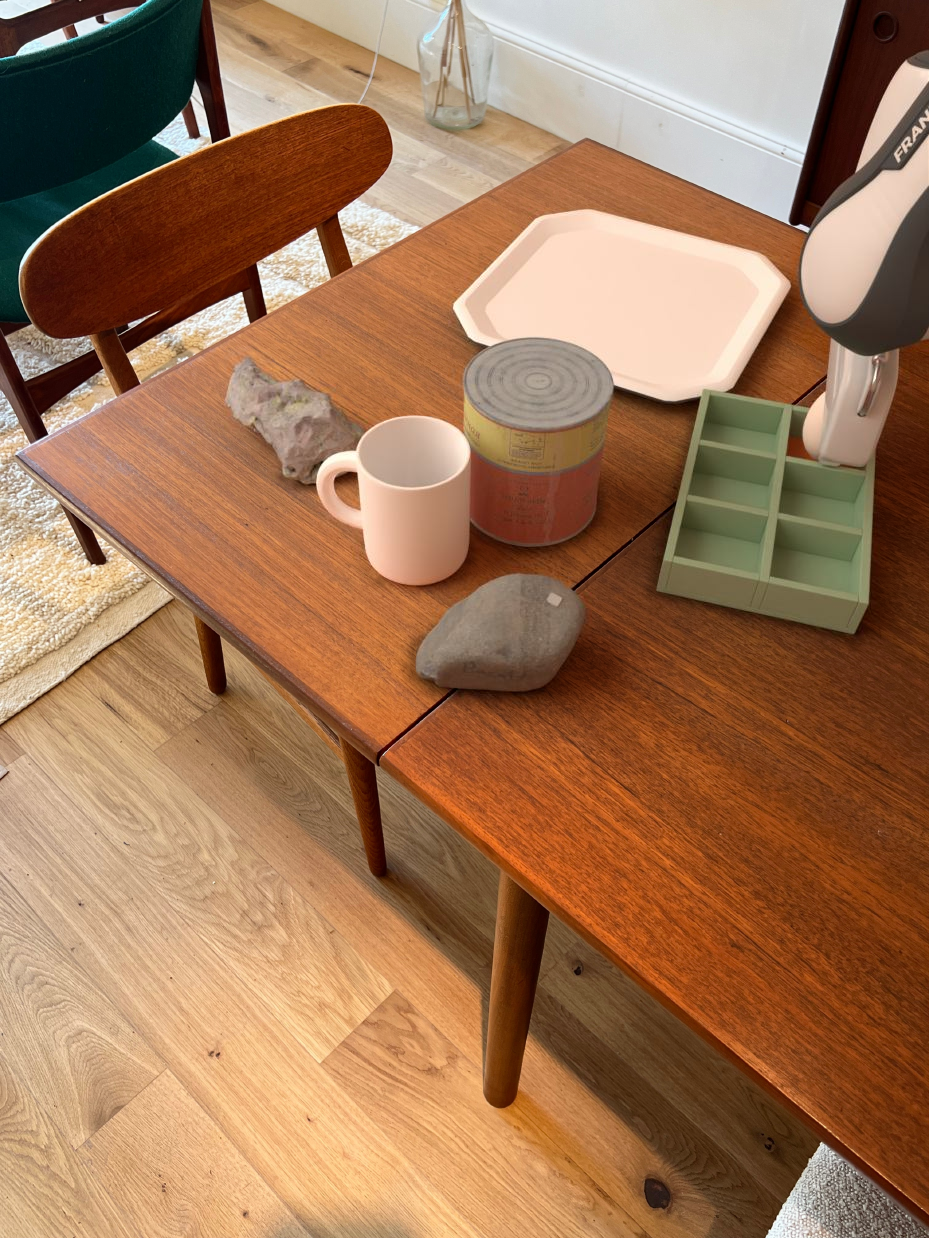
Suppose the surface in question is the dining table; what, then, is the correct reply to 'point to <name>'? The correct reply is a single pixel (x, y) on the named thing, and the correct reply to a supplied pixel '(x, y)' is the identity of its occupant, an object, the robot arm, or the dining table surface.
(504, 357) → the canned food
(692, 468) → the carton
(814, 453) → the egg
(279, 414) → the rock
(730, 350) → the plate
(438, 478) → the mug
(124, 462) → the dining table surface
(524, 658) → the stone
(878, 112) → the robot arm
